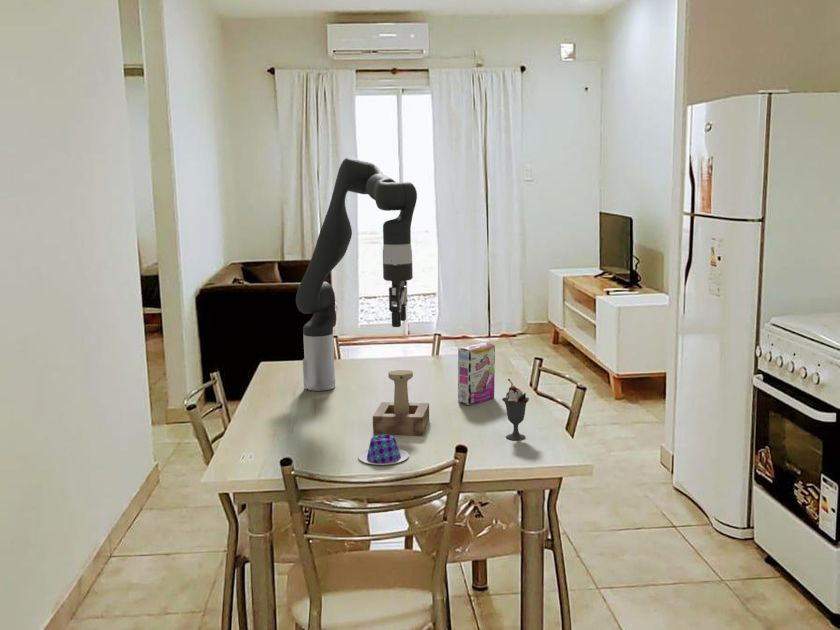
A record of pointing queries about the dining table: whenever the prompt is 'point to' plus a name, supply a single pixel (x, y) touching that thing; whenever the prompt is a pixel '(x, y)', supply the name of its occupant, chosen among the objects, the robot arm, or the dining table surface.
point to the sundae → (515, 410)
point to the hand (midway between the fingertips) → (399, 323)
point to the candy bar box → (476, 373)
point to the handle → (401, 390)
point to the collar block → (401, 420)
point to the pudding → (383, 451)
